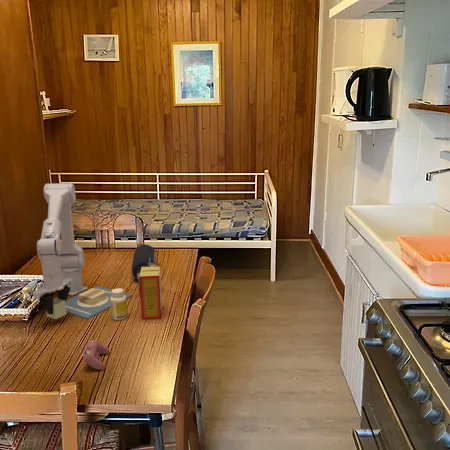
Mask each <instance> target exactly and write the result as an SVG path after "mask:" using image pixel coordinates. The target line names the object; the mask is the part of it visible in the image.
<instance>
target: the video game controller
mask: <svg viewBox="0 0 450 450" xmlns="http://www.w3.org/2000/svg"><path fill="white" fill-rule="evenodd" d="M109 353H110V349H109V347H108V346H107V345H105V344H104V343H103V344H102V343H101V342H100V341H99V340H95V339H93V340H90V341H88V342H87V343H86V344H85V346H84V353H83V354H82V357H83V361H84V362H85V363H86V364H87V365H88V366H90V367H91V368H93V369H96V370H98V371H103V370H105V367H106V365H105V363H104V362H102V361H101V360H99V358H100V355H99V354H102V355H108V354H109Z"/></svg>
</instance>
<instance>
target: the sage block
mask: <svg viewBox="0 0 450 450" xmlns="http://www.w3.org/2000/svg"><path fill="white" fill-rule="evenodd" d="M45 311H46V310H45ZM67 314H68V313H67V312H66V302H65V300H62V299H59V298H58V297H54V298H53V314H52V315H51V314H48V313H47V311H46V317H48V318H51V319H54V320H57V319H60V318H62V317H63V316H66V315H67Z"/></svg>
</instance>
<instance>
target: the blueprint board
mask: <svg viewBox="0 0 450 450" xmlns="http://www.w3.org/2000/svg"><path fill="white" fill-rule="evenodd" d="M112 290H113V289H110V288H106V287H102V286H99V285H97V286H94V287H92V288H89V289H86V291H85V290H84V291H82V292H80V293H77V294H76V295H75V296H74V295H73V296H72V297H70V298H67V300H66V312H67V314H70V315H73V316H75V317H78V318H81V319H84V320H89V319H91V318H93V317H95V316H97V315H99V314H101V313H103V312H105V311H107V310H108V309H111V306H110V298H111V296H112ZM123 295H125V296H126V300H127V299H130V298H132V294H128V293H126V292H125V293H124V294H123Z"/></svg>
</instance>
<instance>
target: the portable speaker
mask: <svg viewBox="0 0 450 450" xmlns="http://www.w3.org/2000/svg"><path fill="white" fill-rule="evenodd" d="M148 263H153V264H156V265H157V252H156V249H155V248H154V247H153V246H152V245H149V244H141V245H139V246H138V247H136V249H135V251H134V252H133V258H132V264H131V273H132V276H133V277H134V278H135V279H136V280H138V279H137V273H140V272H141V267H147V266H148Z"/></svg>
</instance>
